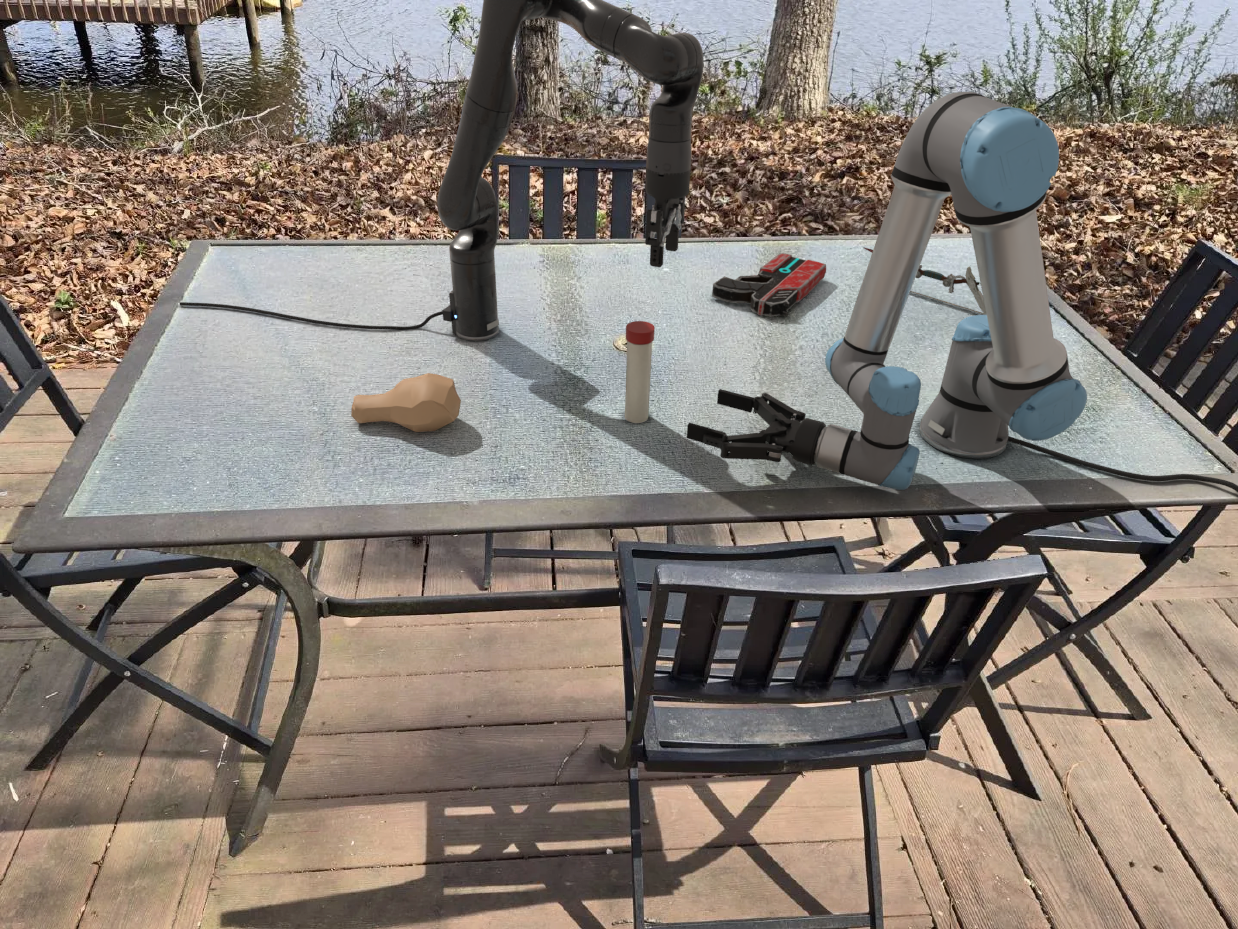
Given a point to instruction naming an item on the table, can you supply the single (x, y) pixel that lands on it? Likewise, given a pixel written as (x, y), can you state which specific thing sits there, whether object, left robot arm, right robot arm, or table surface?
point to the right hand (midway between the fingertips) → (703, 412)
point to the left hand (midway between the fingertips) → (664, 258)
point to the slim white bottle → (638, 382)
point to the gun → (772, 285)
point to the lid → (640, 332)
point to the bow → (952, 280)
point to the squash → (412, 404)
